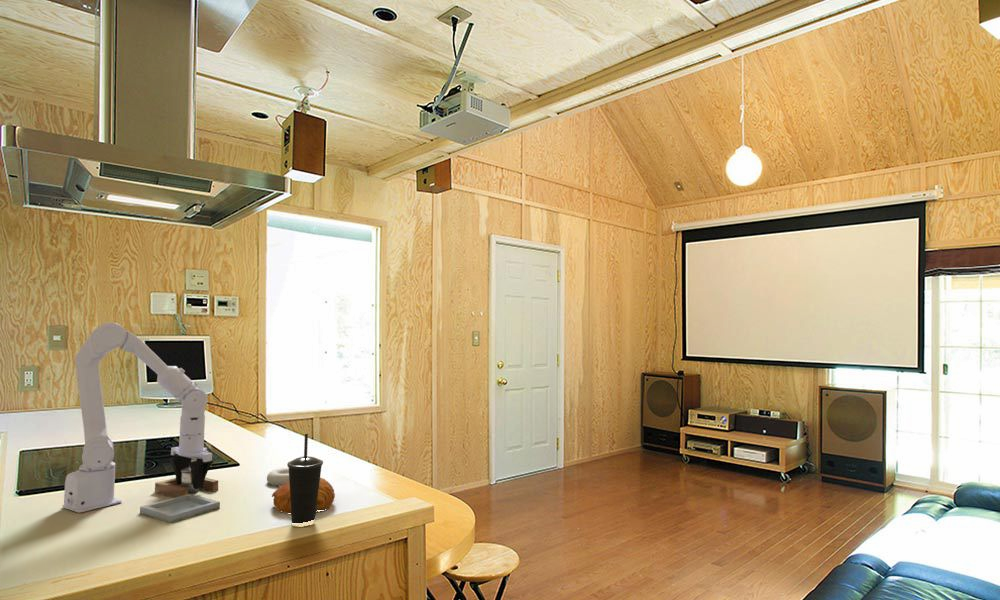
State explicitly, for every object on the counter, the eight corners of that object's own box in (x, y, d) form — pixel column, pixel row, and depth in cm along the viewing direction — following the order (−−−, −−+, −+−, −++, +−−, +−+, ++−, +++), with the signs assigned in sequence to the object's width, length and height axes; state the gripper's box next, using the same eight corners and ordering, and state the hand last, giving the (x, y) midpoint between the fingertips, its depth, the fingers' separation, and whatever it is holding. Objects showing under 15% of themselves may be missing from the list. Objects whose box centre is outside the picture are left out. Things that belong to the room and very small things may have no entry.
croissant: (328, 503, 151) (329, 471, 152) (338, 512, 137) (339, 477, 138) (269, 508, 145) (271, 475, 146) (273, 518, 131) (275, 482, 132)
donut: (275, 490, 154) (310, 483, 161) (275, 477, 154) (310, 470, 161) (260, 482, 161) (294, 475, 168) (260, 470, 162) (295, 464, 168)
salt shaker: (186, 495, 147) (187, 472, 147) (176, 492, 149) (177, 469, 149) (202, 491, 151) (203, 468, 151) (192, 488, 153) (193, 466, 153)
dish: (170, 522, 127) (171, 516, 127) (139, 513, 133) (140, 506, 133) (219, 508, 138) (220, 501, 138) (189, 499, 144) (189, 493, 144)
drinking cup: (300, 532, 123) (303, 438, 124) (277, 525, 127) (280, 434, 128) (328, 522, 130) (331, 433, 131) (305, 515, 134) (308, 429, 135)
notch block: (181, 499, 144) (182, 489, 144) (154, 492, 149) (155, 482, 149) (218, 490, 152) (218, 480, 152) (191, 483, 158) (191, 474, 158)
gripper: (223, 434, 151) (221, 486, 150) (189, 428, 158) (187, 478, 157) (198, 438, 145) (196, 493, 144) (164, 432, 152) (161, 484, 151)
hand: (189, 485), depth 150 cm, fingers open, 6 cm apart
